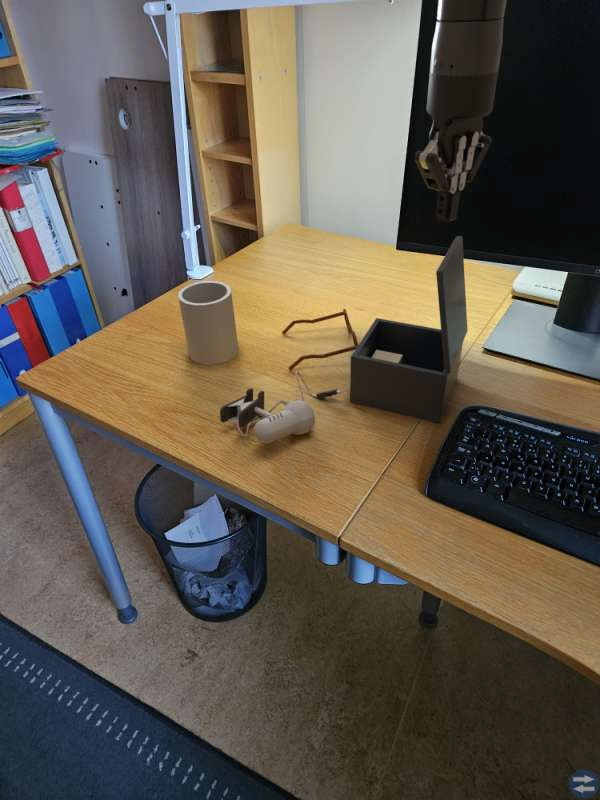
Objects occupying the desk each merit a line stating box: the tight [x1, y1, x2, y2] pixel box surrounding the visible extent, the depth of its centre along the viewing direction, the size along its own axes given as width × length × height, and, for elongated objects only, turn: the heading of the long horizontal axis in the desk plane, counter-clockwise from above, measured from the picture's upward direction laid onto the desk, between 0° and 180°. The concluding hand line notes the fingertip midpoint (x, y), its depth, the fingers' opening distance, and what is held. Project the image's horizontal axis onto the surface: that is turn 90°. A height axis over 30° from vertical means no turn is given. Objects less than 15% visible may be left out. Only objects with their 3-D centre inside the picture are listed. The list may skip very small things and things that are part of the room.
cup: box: [177, 280, 239, 366], centre depth 100 cm, size 9×9×12 cm
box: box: [349, 317, 464, 424], centre depth 89 cm, size 15×13×9 cm
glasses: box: [281, 308, 359, 371], centre depth 102 cm, size 13×13×5 cm
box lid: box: [435, 235, 468, 373], centre depth 80 cm, size 15×13×1 cm
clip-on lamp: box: [219, 370, 343, 444], centre depth 85 cm, size 12×6×18 cm
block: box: [372, 350, 403, 364], centre depth 91 cm, size 4×4×4 cm
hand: (446, 219), depth 73 cm, fingers closed
